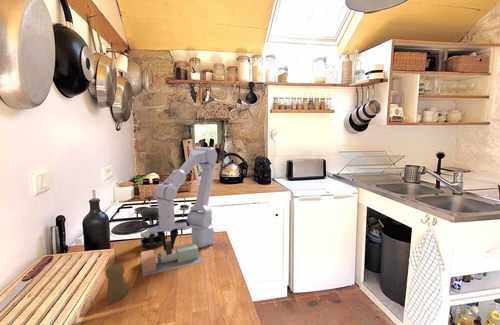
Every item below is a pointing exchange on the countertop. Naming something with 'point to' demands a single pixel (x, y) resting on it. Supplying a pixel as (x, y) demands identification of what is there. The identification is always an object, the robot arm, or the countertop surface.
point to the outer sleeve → (187, 252)
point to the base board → (172, 265)
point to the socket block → (148, 261)
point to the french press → (150, 216)
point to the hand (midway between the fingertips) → (168, 248)
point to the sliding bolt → (167, 254)
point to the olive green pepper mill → (115, 283)
